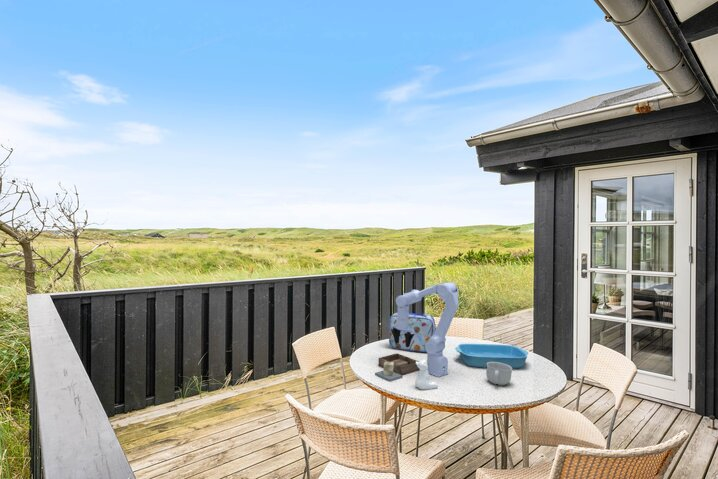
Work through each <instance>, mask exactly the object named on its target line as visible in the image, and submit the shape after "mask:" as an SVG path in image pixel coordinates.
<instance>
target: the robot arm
mask: <svg viewBox="0 0 718 479" xmlns="http://www.w3.org/2000/svg"><path fill="white" fill-rule="evenodd" d="M433 294H435V295H438V296H439V297H440V298H441V300H442V301H444V304H445V307H444V309H443V311H442V314H441V316H440V319H439V320H438V323H437V325H436V327H437V328H436V330H435V333H434V334H433V336H432V337H431V338H430V340H429V341H428V342H427V343H426V345H425V350H426V352H425V353H427V354H426V356H427V358H426V359H427V361H426V363H427V365H428V369H427V370H428V373H429V375H432V376H435V377H437V378H440V377H442V376H445V375H449V370H448V366H449V360H448V358H447V357H446V356H445V355H444V354H443V353H444V352H443V351H444V350H445V347H446V341H447V339H446V336H447V333H448V330H449V328H450V326H451V323H452V321H453V319H454V317H455V315H456V312H457V309H458V307H459V288H458V287H457V285H456V284H455V283H454V282H452V281H448V282H446V283H445V282H444V283H440V284H439V283H438V284H435V285H431V286H429V287H426V288H424V289H422V290H419V289H411V291H409V292H404V293H403V295H402V294H401V295H397V296H396V298H395V305H396V306H397V312H398V313H397V325H396V324H392V325H391V328H393V330H391V332H392V334H393V336H394V340H395V344H397V343H399V336H400V332H401V331H404V332H407V333H404V336H405V343H406V347H410V343H411V340H412V338H413V336H414V331H415V330H413V329H411V328H409V326H408V320H409V313H410V305H412V304H415V303H417V302H420V301H422V299H423V298H424V297H427V296H430V295H433Z"/></svg>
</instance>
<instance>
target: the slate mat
mask: <svg viewBox="0 0 718 479" xmlns="http://www.w3.org/2000/svg"><path fill="white" fill-rule="evenodd" d="M374 376H376V377H379V378H381V379H383V380H385V381H387V382H390V383H391V382H393V381H397V380H400V379H403V375H400V374H397V373H395V372H393V376H387V375H384V369H383V370H380V371H376V372H374Z"/></svg>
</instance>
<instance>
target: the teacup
mask: <svg viewBox="0 0 718 479" xmlns="http://www.w3.org/2000/svg"><path fill="white" fill-rule="evenodd" d="M512 371H513V368H512V367H511V366H509V365H507V364H503V363H499V362H488V363H487V368H486V370H485V372H486V373H485V374H486V378H487V379H488V380H489V382H490V383H491V384H494V385H496V384H498V385H497V386H505V384H506V385H507V384H509V383H510V382H511V379H512V374H513V373H512Z"/></svg>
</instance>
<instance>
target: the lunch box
mask: <svg viewBox="0 0 718 479" xmlns="http://www.w3.org/2000/svg"><path fill="white" fill-rule="evenodd" d="M397 313H398V311H396V312H394V313H392V315H391V316H390V318H389V319H388V320H389V321H388V344H389V346H390V347H391V348H393V349H396V350H402V351H409V352H417V353H420V352H421V353H427V352H426V350H425V345H426V343H427V342H428V341H429V340H430V338H431V337H432V336H433V334H434V333H435V330H436V328H437V324H435V323H436V321H435V318H434V317H433V316H432V315H430V314H425V313H423V312H422V313H413V312H409V320H408V326H409V328H411V329H413V330H415V331H414V336H413V338H412V340H411V343H410V347H406V343H405V336H404V333H407V332H404V331H401V332H400V336H399V343H397V344H395V340H394V336H393V334H392V332H391V330H393V328H391V325H392V324H396V325H397Z"/></svg>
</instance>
